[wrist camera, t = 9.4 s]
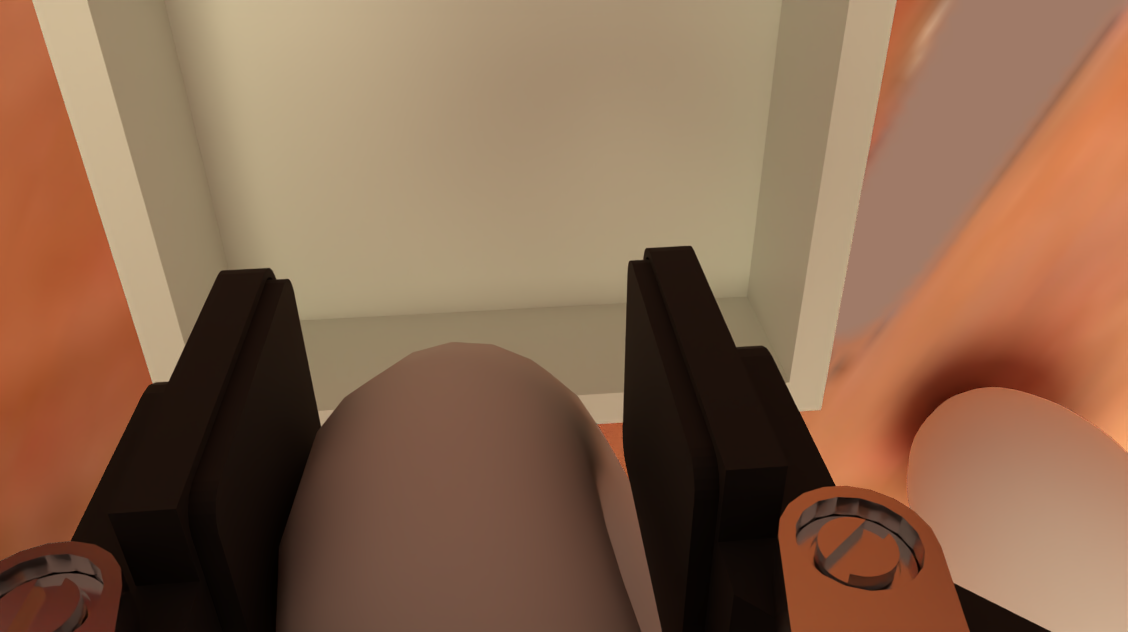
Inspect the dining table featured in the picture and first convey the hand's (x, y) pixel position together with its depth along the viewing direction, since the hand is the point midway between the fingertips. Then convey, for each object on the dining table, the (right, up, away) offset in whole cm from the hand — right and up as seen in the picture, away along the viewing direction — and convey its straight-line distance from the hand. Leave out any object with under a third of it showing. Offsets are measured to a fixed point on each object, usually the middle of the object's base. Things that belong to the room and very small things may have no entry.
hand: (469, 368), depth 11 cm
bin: (-1, +9, +17) cm, 19 cm away
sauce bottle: (+18, -3, +27) cm, 33 cm away
